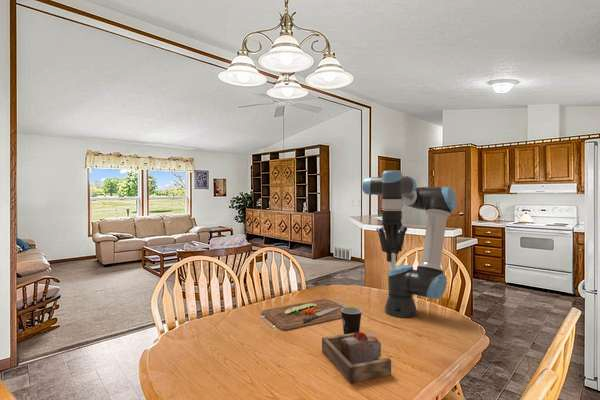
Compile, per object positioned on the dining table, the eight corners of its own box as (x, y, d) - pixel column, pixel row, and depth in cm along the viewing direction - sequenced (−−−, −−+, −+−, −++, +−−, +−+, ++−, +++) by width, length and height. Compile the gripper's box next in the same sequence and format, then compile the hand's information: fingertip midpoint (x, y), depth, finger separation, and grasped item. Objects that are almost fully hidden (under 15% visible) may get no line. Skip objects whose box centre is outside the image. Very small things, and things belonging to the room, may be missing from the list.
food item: (369, 351, 127) (369, 325, 127) (383, 361, 120) (383, 334, 120) (338, 359, 122) (338, 332, 121) (351, 370, 114) (351, 341, 114)
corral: (357, 344, 133) (357, 332, 133) (391, 374, 111) (391, 359, 111) (322, 351, 128) (322, 338, 128) (350, 383, 106) (350, 367, 106)
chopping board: (330, 299, 190) (330, 294, 190) (361, 315, 166) (361, 309, 166) (255, 314, 168) (255, 308, 168) (277, 334, 145) (277, 327, 145)
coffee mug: (361, 338, 138) (361, 314, 138) (340, 337, 140) (340, 313, 140) (362, 327, 150) (362, 305, 150) (342, 326, 152) (342, 304, 151)
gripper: (400, 209, 138) (400, 266, 139) (372, 209, 134) (372, 269, 135) (411, 210, 131) (411, 270, 132) (382, 210, 127) (382, 273, 128)
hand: (391, 269), depth 133 cm, fingers closed
